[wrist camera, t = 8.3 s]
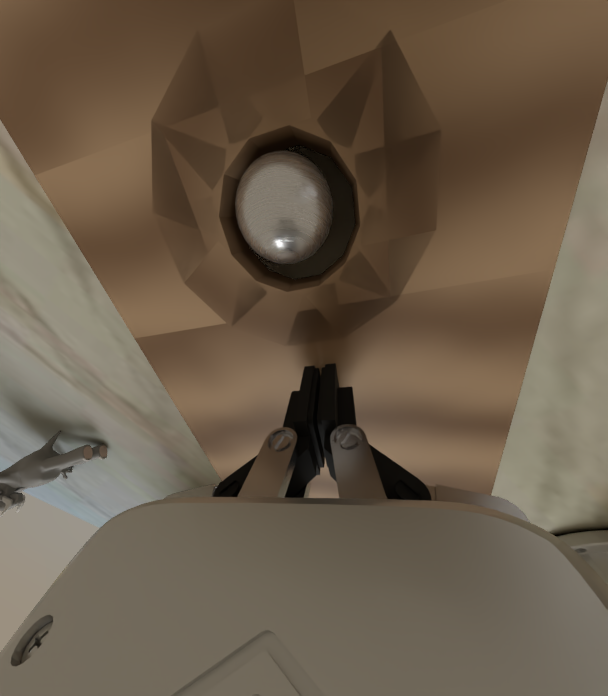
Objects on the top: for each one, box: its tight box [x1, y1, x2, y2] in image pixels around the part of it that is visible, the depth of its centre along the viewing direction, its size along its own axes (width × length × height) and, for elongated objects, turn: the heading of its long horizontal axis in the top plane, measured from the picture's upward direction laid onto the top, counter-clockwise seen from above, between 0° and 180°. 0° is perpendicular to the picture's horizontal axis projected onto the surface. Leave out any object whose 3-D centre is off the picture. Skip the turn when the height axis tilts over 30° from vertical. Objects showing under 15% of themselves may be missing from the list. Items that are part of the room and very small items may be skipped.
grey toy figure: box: [0, 431, 107, 516], centre depth 22 cm, size 10×6×9 cm
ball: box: [235, 151, 333, 264], centre depth 10 cm, size 4×4×4 cm
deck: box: [0, 0, 608, 498], centre depth 13 cm, size 28×20×2 cm
